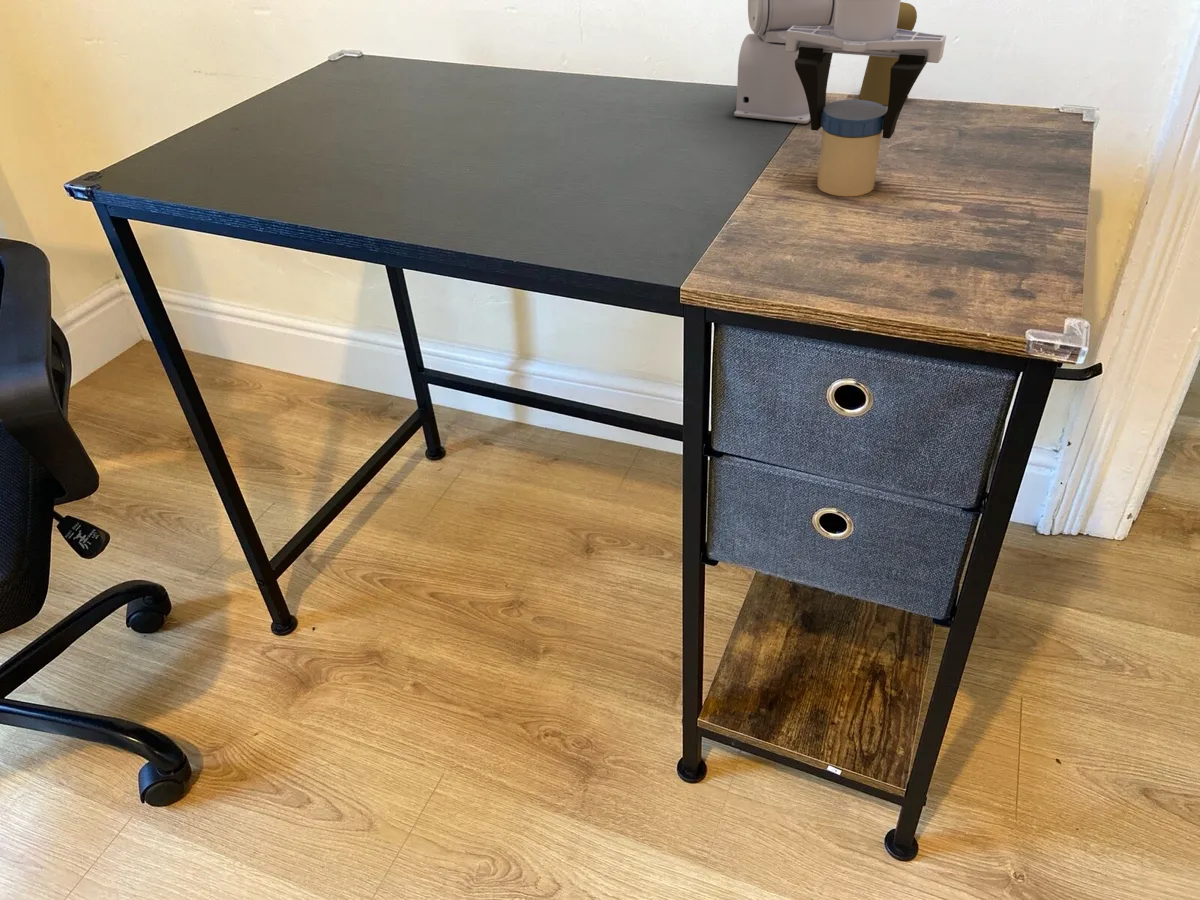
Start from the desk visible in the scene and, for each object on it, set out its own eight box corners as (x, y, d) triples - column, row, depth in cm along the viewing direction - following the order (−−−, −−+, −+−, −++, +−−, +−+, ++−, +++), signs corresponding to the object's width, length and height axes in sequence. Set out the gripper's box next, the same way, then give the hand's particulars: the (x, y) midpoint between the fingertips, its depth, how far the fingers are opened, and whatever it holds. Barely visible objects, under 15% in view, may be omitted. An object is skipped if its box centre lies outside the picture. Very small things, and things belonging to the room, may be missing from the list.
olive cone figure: (909, 105, 110) (924, 9, 103) (859, 104, 111) (871, 10, 104) (906, 89, 114) (920, -3, 107) (858, 89, 115) (869, -3, 108)
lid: (813, 132, 87) (815, 116, 86) (830, 112, 91) (832, 97, 90) (876, 139, 85) (878, 123, 84) (891, 119, 89) (893, 102, 88)
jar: (810, 192, 91) (817, 120, 86) (825, 171, 95) (833, 101, 90) (866, 199, 89) (876, 126, 84) (880, 178, 93) (890, 107, 88)
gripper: (779, -13, 80) (769, 136, 88) (945, -6, 74) (917, 153, 83) (803, -30, 84) (791, 113, 93) (960, -24, 79) (932, 128, 87)
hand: (852, 131), depth 88 cm, fingers open, 6 cm apart
